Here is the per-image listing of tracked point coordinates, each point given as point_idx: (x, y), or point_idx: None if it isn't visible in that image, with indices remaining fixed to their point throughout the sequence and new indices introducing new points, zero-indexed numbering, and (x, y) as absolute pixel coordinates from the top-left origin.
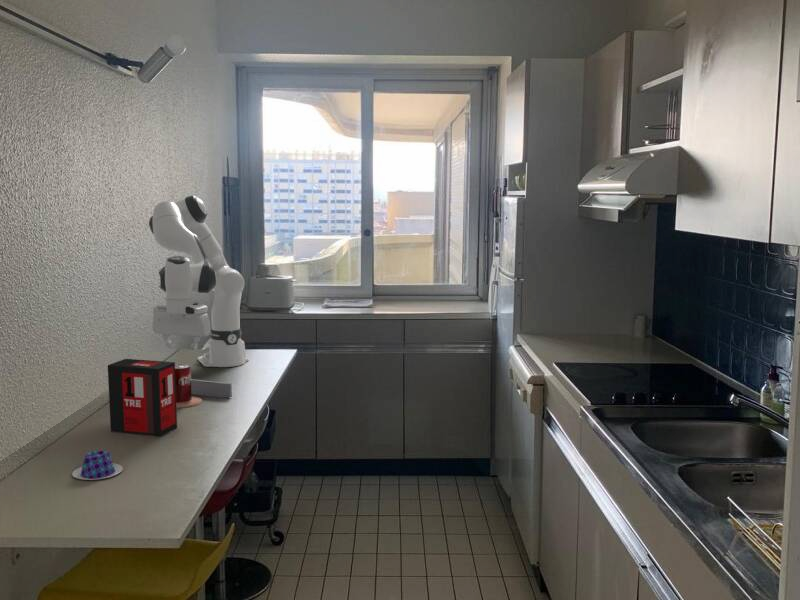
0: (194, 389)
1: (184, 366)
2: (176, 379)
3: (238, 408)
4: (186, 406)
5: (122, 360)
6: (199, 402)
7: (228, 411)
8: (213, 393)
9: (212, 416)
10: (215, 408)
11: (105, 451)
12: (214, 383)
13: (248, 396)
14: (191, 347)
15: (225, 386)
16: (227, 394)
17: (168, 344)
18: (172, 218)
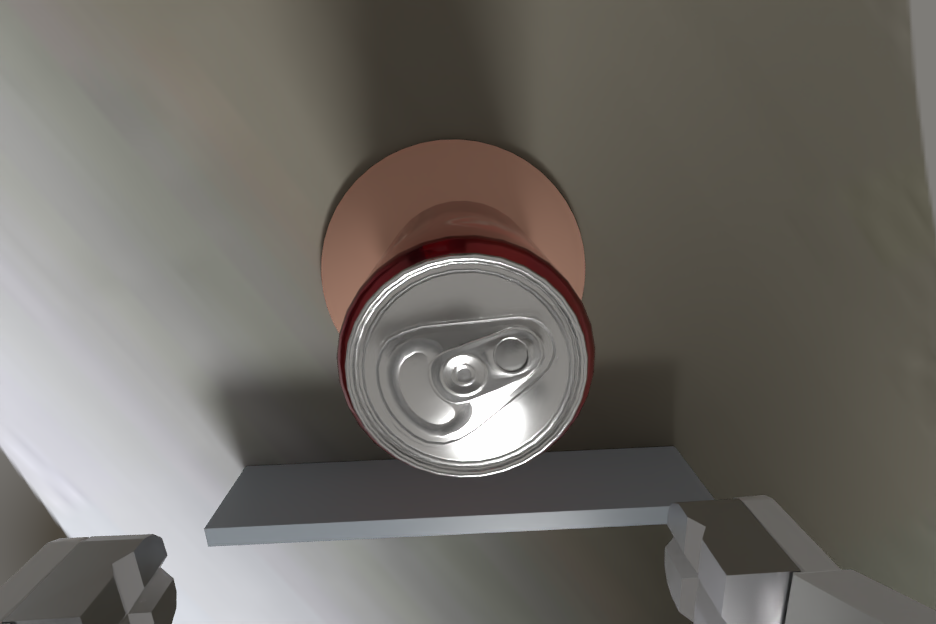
0: (501, 472)
1: (406, 389)
2: (424, 229)
3: (35, 309)
4: (347, 191)
5: None
6: (331, 303)
7: (35, 225)
8: (360, 472)
9: (31, 73)
10: (162, 250)
11: None
12: (336, 517)
13: (182, 536)
14: (108, 556)
15: (249, 511)
16: (256, 479)
17: (743, 540)
18: None
